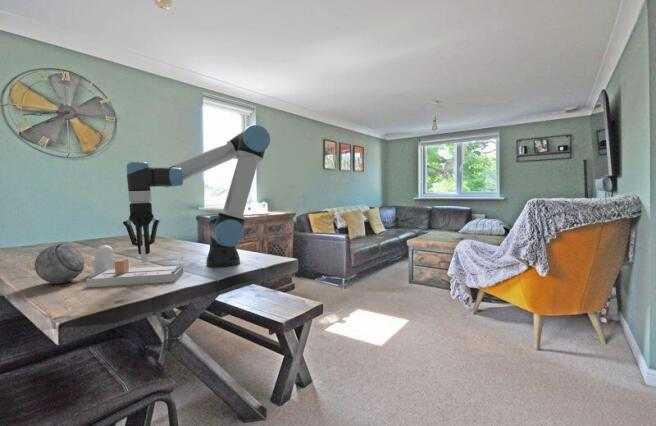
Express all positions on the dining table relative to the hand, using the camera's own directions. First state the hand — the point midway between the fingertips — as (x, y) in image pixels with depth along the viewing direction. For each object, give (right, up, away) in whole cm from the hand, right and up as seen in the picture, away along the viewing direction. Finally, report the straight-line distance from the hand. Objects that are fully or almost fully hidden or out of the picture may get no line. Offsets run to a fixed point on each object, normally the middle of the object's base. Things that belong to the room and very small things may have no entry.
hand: (145, 262), depth 130 cm
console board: (-2, -7, 0) cm, 7 cm away
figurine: (-23, -7, +11) cm, 26 cm away
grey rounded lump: (-30, -8, -3) cm, 31 cm away
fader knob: (-8, -4, -2) cm, 9 cm away
